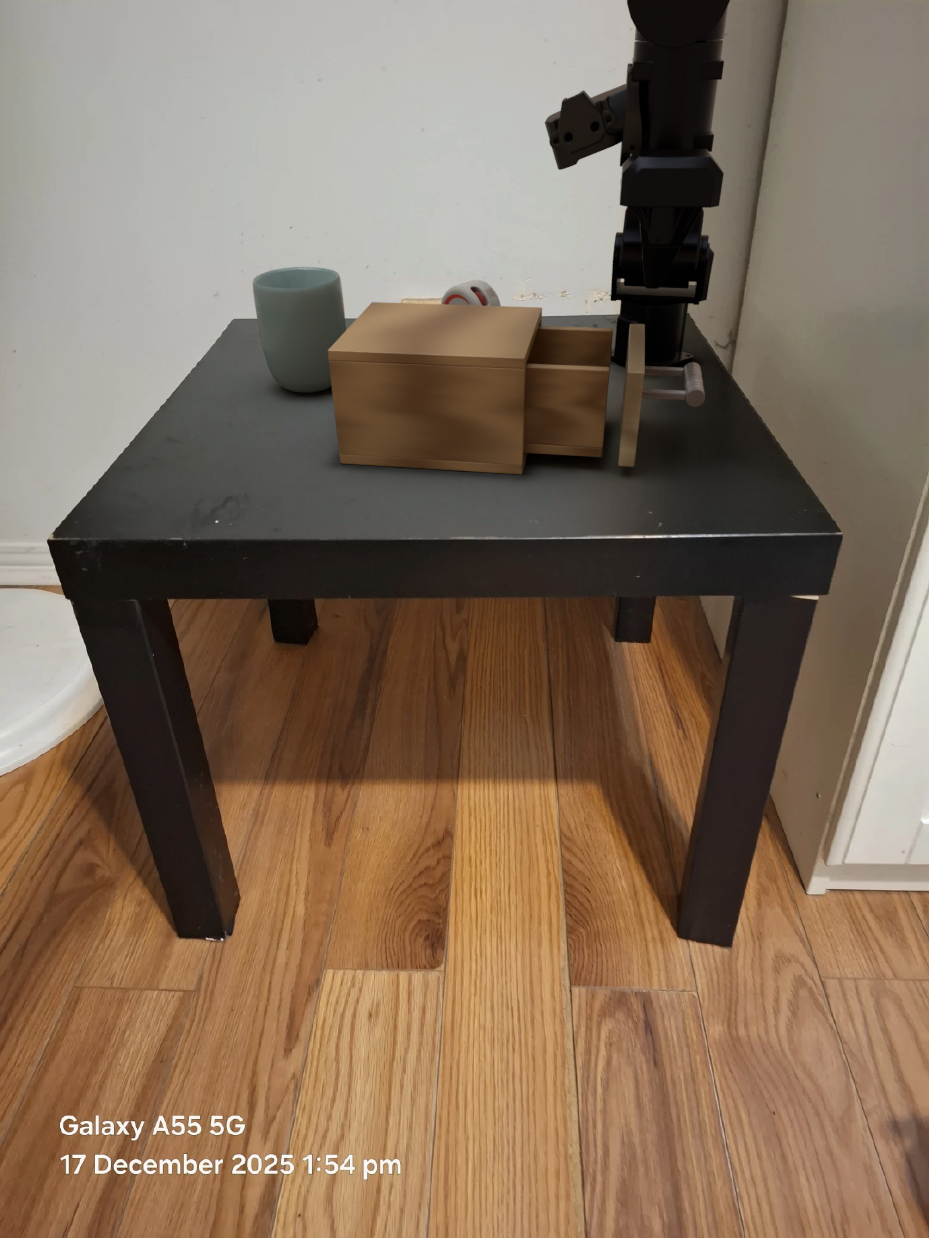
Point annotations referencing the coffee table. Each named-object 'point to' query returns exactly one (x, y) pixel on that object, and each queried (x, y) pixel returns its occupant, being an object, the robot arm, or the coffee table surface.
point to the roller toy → (471, 294)
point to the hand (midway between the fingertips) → (651, 287)
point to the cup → (299, 324)
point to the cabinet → (433, 386)
